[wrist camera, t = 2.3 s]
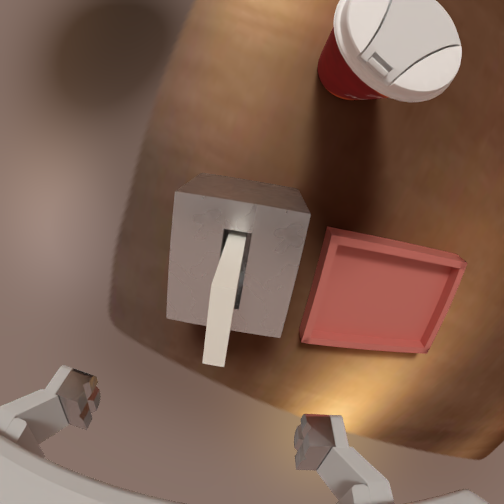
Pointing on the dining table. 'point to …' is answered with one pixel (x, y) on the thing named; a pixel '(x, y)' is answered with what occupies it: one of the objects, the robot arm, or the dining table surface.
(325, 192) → the dining table surface
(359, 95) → the paper cup
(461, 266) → the tray
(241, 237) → the long rectangular block
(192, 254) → the dispenser
